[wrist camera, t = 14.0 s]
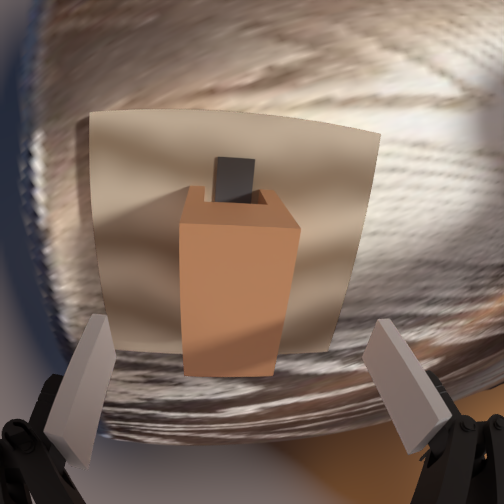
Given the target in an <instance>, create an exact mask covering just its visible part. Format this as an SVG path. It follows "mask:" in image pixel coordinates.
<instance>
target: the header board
mask: <svg viewBox="0 0 504 504" xmlns="http://www.w3.org/2000/svg"><path fill="white" fill-rule="evenodd" d="M380 137H381V134H379V133H374V132H370V131H365V130H360V129H356V128H351V127H345V126H340V125H335V124H329V123H323V122H317V121H311V120H304V119H297V118H290V117H282V116H273V115H264V114H254V113H243V112H230V111H213V110H187V109H141V110H115V111H100V112H90V119H89V169H90V191H91V207H92V219H93V229H94V239H95V247H96V255H97V262H98V269H99V276H100V282H101V288H102V294H103V299H104V305H105V310H106V315H107V317H108V322H109V327H110V331H111V336H112V340H113V344H114V348H115V350H126V351H139V352H153V353H171V354H183V350H182V332H181V309H180V270H179V223H180V219H181V216H182V212H183V208H184V205H185V201H186V198H187V194H188V191H189V187H190V186H205V198H204V202H227V203H246V204H258V197H259V189H264V190H274V191H275V192H276V194H277V195H278V197H279V198H280V199H281V201H282V202H283V204H284V205H285V206H286V208H287V209H288V211H289V212H290V213H291V215H292V216H293V218H294V219H295V221H296V222H297V223H298V225H299V226H300V228H301V233H300V239H299V245H298V251H297V257H296V262H295V268H294V273H293V279H292V284H291V290H290V295H289V300H288V305H287V310H286V315H285V321H284V326H283V330H282V335H281V340H280V345H279V350H278V354H297V353H315V352H328V349H329V346H330V343H331V340H332V337H333V334H334V331H335V328H336V324H337V321H338V318H339V315H340V311H341V308H342V305H343V301H344V298H345V295H346V291H347V288H348V284H349V280H350V277H351V273H352V269H353V266H354V262H355V258H356V254H357V250H358V246H359V242H360V238H361V234H362V229H363V225H364V221H365V216H366V212H367V207H368V202H369V198H370V193H371V188H372V183H373V177H374V172H375V167H376V161H377V155H378V149H379V143H380Z"/></svg>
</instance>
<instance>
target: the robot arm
mask: <svg viewBox="0 0 504 504" xmlns="http://www.w3.org/2000/svg"><path fill="white" fill-rule="evenodd" d="M362 359H363V361H364V363H365V365H366V367H367V369H368V371H369V373H370V375H371V377H372V379H373V381H374V383H375V385H376V387H377V389H378V391H379V393H380V396H381V398H382V400H383V402H384V404H385V406H386V408H387V410H388V412H389V414H390V416H391V418H392V421H393V423H394V425H395V427H396V429H397V431H398V433H399V436H400V438H401V440H402V442H403V444H404V446H405V449H406V451H407V453H408V455H410V454H413V453H415V452H418V451H421V450H422V449H423V448H424V447H425V446H426V445H427V444H428V445H429V446H430V449H429V450H428V451H427V452H426V453H425V454H424V455H423V456H422V457H421V458H420V460H419V461H422V460H423V459H424V458H425V457H426V458H425V461H424V465H423V468H422V471H421V474H420V477H419V480H418V484H417V486H416V489H415V492H414V495H413V498H412V501H411V503H410V504H504V417H503V416H501V415H498V414H495V415H492V416H491V417H490V418H489V419H488V421H484V422H483V421H482V422H476V421H475V420H474V419H473V418H471V417H470V416H467V415H461V413H460V412H459V410H458V409H457V407H456V405H455V404H454V402H453V401H452V399H451V397H450V396H449V394H448V393H447V392H446V389H445V388H444V386H442V383H441V382H440V380H439V379H438V377H437V376H436V375H435V374H433V373H432V372H431V371H430V370H428V371H425V370H424V369H423V367H422V366H421V364H420V363H419V361H418V360H417V358H416V357H415V355H414V354H413V352H412V351H411V349H410V348H409V346H408V345H407V343H406V342H405V340H404V339H403V337H402V336H401V334H400V333H399V331H398V330H397V329H396V327H395V326H394V324H393V323H392V321H391V320H390V319H377V322H376V324H375V327H374V330H373V332H372V335H371V337H370V339H369V342H368V344H367V347H366V349H365V351H364V354H363V356H362ZM115 361H116V353H115V348H114V344H113V340H112V336H111V331H110V327H109V322H108V317H107V315H103V314H93V313H92V315H91V317H90V319H89V321H88V323H87V325H86V327H85V330H84V332H83V334H82V336H81V338H80V340H79V343H78V345H77V347H76V349H75V352H74V354H73V356H72V358H71V361H70V363H69V365H68V368H67V370H66V373H65V375H64V376H62V375H56V374H52V376H50V377H49V378H48V380H46V381H45V383H44V386H43V388H42V390H41V393H40V395H39V397H38V401H37V402H36V405H35V407H34V410H33V412H32V415H31V417H30V420H29V423H27V422H26V421H24V420H21V419H12V420H10V421H9V422H7V423H6V424H5V426H4V427H3V430H2V439H0V504H32V500H31V496H30V493H31V495H32V497H33V499H34V501H35V503H36V504H86V503H85V501H84V500H83V498H82V496H81V495H80V493H79V492H78V490H77V488H76V487H75V485H74V483H73V482H72V480H71V478H70V477H69V475H68V473H67V471H66V470H65V468H64V466H65V462H66V461H67V462H68V463H69V465H70V466H71V467H75V468H79V469H84V470H88V468H89V463H90V458H91V454H92V448H93V444H94V440H95V436H96V431H97V427H98V423H99V419H100V415H101V411H102V407H103V403H104V399H105V396H106V392H107V388H108V385H109V381H110V378H111V374H112V371H113V367H114V364H115ZM486 453H487V459H485V457H484V455H485V454H486Z"/></svg>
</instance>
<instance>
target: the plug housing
mask: <svg viewBox="0 0 504 504" xmlns="http://www.w3.org/2000/svg"><path fill="white" fill-rule="evenodd" d="M204 198H205V186H190V187H189V191H188V194H187V198H186V201H185V205H184V208H183V212H182V216H181V219H180V223H179V270H180V309H181V332H182V350H183V365H184V376H197V377H255V376H273V373H274V368H275V364H276V359H277V355H278V350H279V345H280V340H281V335H282V330H283V326H284V321H285V315H286V310H287V305H288V300H289V295H290V290H291V284H292V279H293V273H294V268H295V262H296V257H297V251H298V245H299V239H300V233H301V228H300V226H299V225H298V223H297V222H296V221H295V219H294V218H293V216H292V215H291V213H290V212H289V211H288V209H287V208H286V206H285V205H284V204H283V202H282V201H281V199H280V198H279V197H278V195H277V194H276V192H275V191H274V190H264V189H259V197H258V204H246V203H227V202H204Z"/></svg>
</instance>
